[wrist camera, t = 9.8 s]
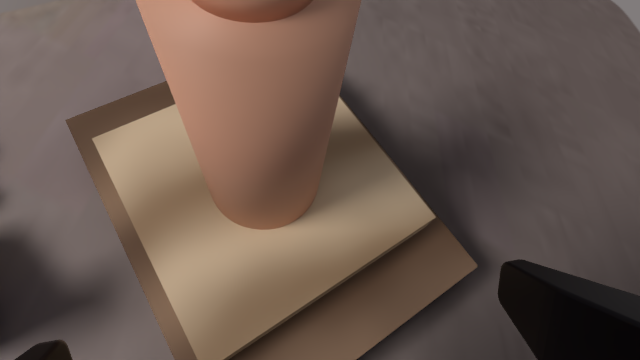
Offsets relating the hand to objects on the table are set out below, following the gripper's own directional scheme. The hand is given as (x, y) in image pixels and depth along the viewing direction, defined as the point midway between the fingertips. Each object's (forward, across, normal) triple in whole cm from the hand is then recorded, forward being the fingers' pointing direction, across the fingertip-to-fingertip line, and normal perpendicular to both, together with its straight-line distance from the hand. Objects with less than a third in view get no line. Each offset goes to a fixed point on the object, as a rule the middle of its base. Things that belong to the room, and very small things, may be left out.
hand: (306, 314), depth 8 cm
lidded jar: (+11, 0, +1) cm, 11 cm away
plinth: (+14, 0, +3) cm, 14 cm away
